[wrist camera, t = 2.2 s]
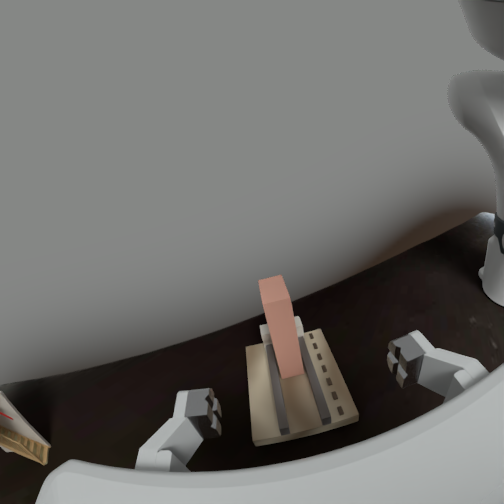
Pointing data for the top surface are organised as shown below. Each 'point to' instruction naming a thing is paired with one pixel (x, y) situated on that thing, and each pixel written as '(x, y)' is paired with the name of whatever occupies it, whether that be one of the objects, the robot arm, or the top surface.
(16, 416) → the staircase
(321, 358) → the slotted tan base plate
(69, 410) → the top surface
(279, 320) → the tall salmon pink pillar
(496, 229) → the robot arm
